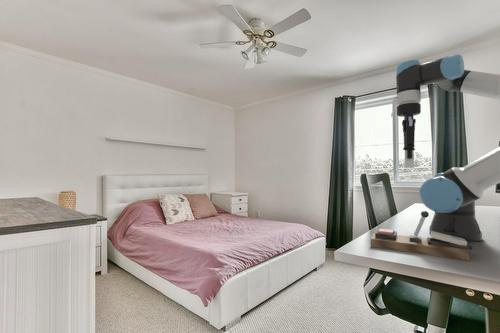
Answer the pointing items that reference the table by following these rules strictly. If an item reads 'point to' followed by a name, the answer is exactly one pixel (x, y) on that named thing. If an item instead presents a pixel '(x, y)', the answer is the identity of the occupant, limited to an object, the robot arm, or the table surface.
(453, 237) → the rocker switch
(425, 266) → the table surface
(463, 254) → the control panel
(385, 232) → the push button
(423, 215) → the toggle lever
